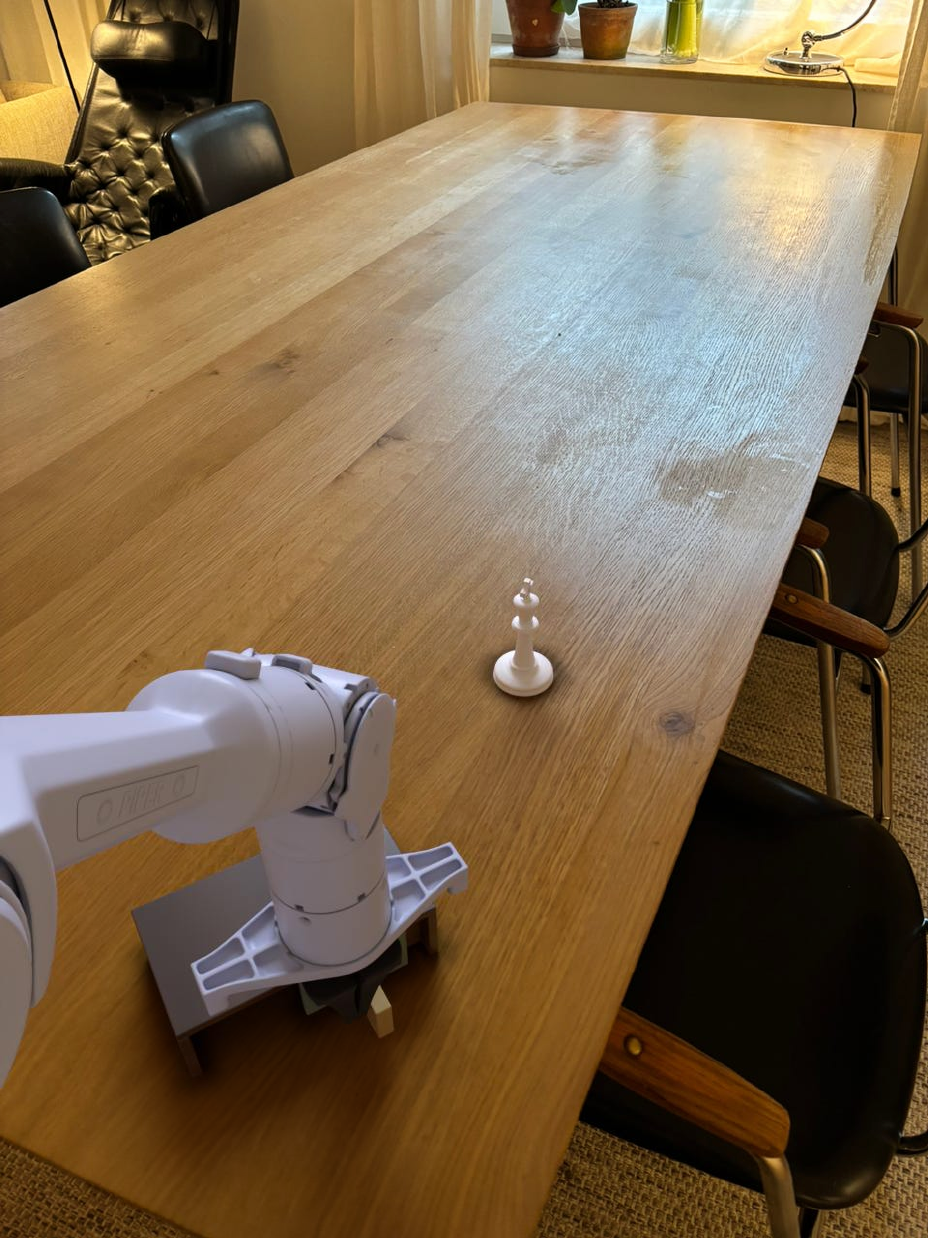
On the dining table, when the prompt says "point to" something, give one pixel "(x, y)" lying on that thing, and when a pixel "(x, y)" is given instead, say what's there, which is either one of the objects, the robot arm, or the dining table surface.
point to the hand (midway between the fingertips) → (350, 1005)
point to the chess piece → (524, 652)
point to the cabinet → (220, 940)
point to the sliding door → (379, 1006)
